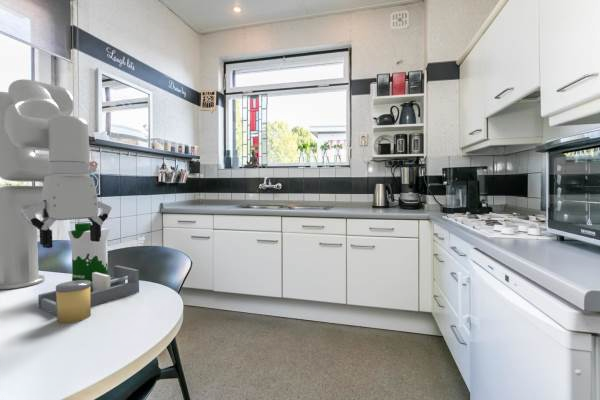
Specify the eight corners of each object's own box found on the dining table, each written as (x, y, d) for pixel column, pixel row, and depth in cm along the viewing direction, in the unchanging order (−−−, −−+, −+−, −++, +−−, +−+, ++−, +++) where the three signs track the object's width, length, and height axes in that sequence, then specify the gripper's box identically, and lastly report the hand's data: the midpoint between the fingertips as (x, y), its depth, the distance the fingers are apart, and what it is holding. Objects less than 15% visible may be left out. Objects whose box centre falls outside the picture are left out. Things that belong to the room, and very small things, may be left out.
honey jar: (51, 319, 71) (50, 285, 71) (83, 310, 77) (82, 278, 76) (64, 326, 68) (63, 290, 67) (96, 315, 73) (96, 282, 73)
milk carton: (66, 290, 92) (64, 224, 92) (93, 281, 101) (92, 221, 100) (88, 292, 90) (87, 224, 89) (115, 283, 99) (113, 221, 98)
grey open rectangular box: (38, 307, 79) (37, 282, 79) (118, 285, 96) (117, 265, 96) (58, 315, 73) (57, 288, 73) (139, 291, 90) (138, 269, 90)
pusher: (92, 293, 88) (92, 272, 88) (121, 285, 95) (120, 266, 95) (106, 298, 84) (106, 276, 84) (135, 289, 91) (135, 269, 91)
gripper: (101, 173, 80) (103, 238, 81) (15, 169, 66) (18, 249, 66) (117, 171, 77) (119, 240, 77) (29, 167, 62) (32, 252, 62)
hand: (72, 244), depth 71 cm, fingers open, 9 cm apart
